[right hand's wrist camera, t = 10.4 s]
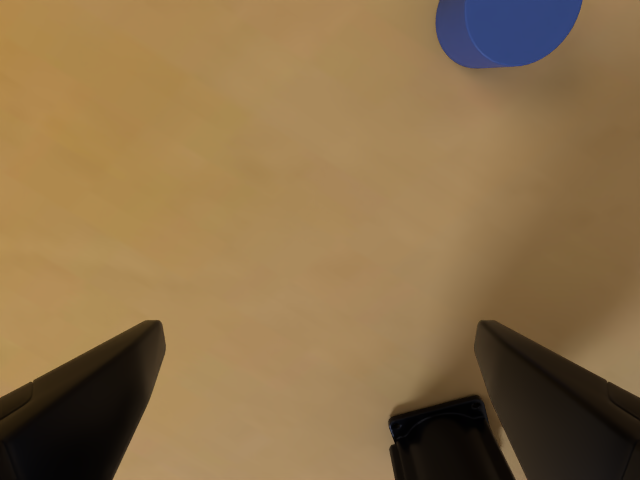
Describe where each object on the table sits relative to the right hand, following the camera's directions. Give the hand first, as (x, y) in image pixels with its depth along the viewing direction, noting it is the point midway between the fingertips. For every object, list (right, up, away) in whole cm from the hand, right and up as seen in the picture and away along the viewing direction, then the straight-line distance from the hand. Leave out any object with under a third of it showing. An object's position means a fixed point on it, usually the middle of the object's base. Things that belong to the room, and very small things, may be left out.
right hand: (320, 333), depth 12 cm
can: (+8, +13, +7) cm, 17 cm away
